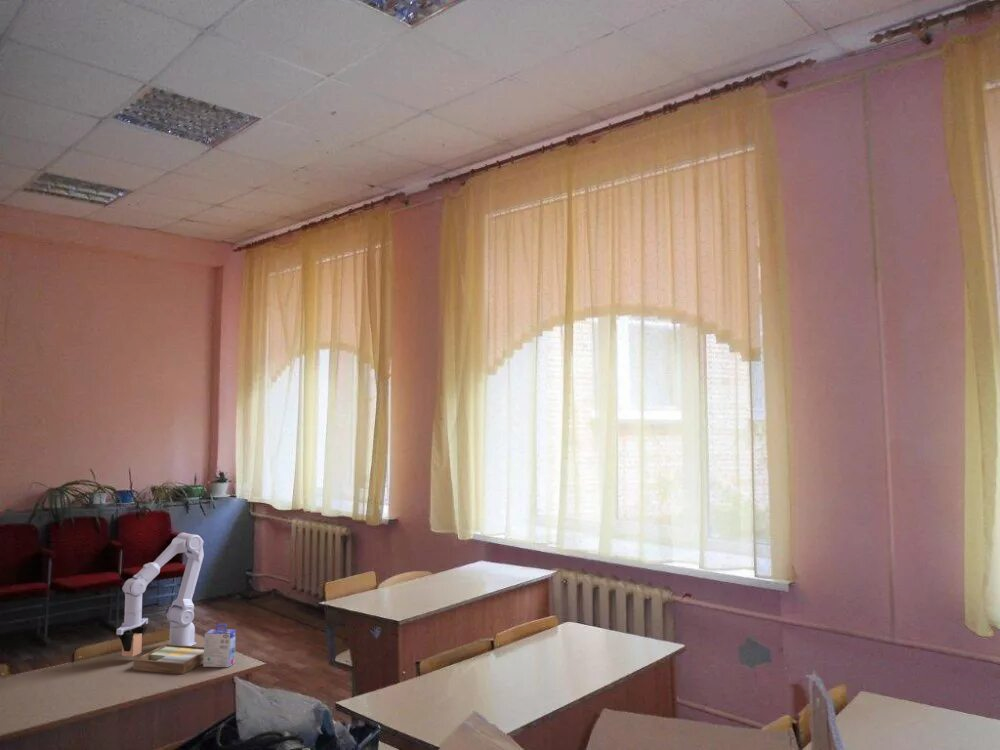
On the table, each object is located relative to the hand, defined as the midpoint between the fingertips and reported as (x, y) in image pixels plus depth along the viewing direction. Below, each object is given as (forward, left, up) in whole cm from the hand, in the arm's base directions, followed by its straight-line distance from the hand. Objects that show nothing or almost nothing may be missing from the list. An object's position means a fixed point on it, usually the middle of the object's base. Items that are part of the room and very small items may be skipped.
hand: (131, 648), depth 260 cm
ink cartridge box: (-3, +34, -5) cm, 34 cm away
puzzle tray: (-1, +17, -4) cm, 18 cm away
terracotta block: (0, 0, -2) cm, 2 cm away
